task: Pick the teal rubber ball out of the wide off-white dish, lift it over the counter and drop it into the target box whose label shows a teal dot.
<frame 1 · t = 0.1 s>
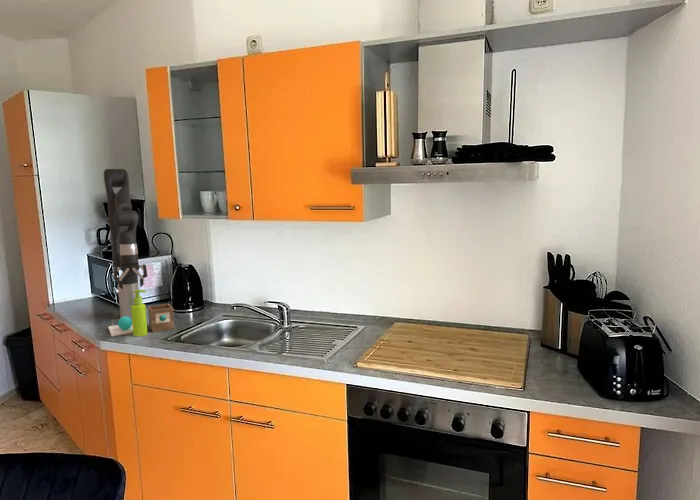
hand: (131, 287, 235), 17 cm above the countertop, tool pointing down, fingers open, 8 cm apart
soap dispenser: (141, 334, 219), on the countertop
target box: (161, 328, 228), on the countertop
ball: (125, 323, 225), point 3 cm above the countertop, touching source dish
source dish: (125, 330, 226), on the countertop
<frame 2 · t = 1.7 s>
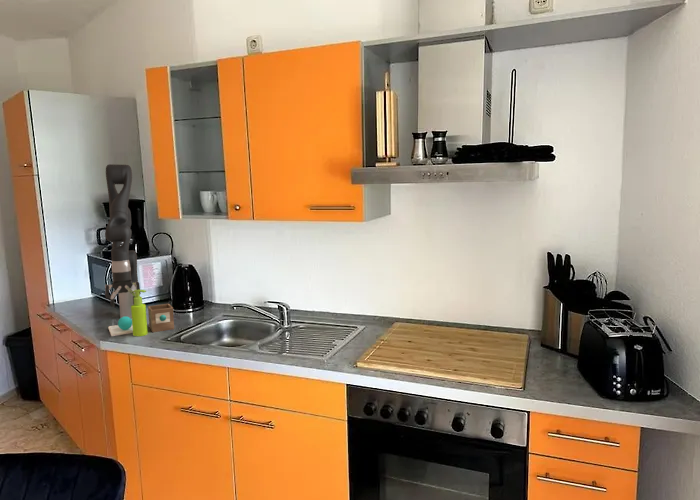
hand: (124, 305, 224), 11 cm above the countertop, tool pointing down, fingers open, 8 cm apart
nothing on the countertop moved.
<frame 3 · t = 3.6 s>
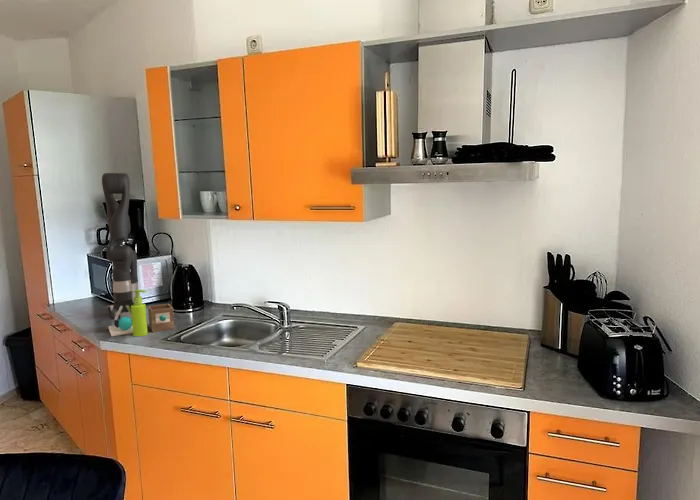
hand: (125, 326, 226), 2 cm above the countertop, tool pointing down, fingers closed on ball, 6 cm apart
ball: (125, 323, 225), point 3 cm above the countertop, touching gripper, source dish
everything else where it was.
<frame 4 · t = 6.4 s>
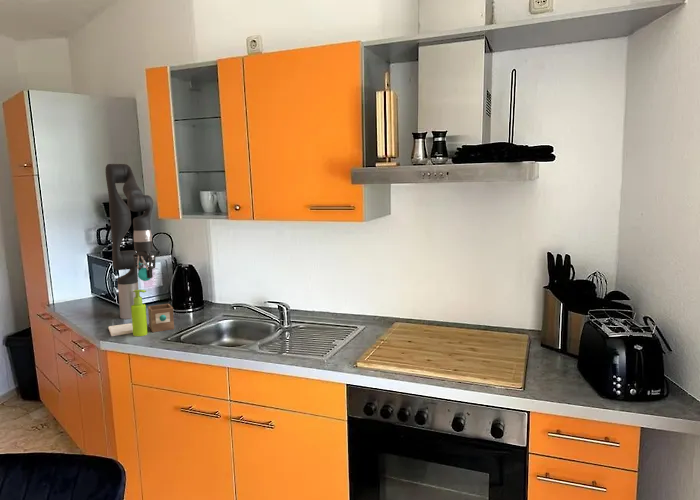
hand: (145, 277, 224), 24 cm above the countertop, tool pointing down, fingers closed on ball, 6 cm apart
ball: (145, 274, 223), point 25 cm above the countertop, touching gripper
everything else where it was.
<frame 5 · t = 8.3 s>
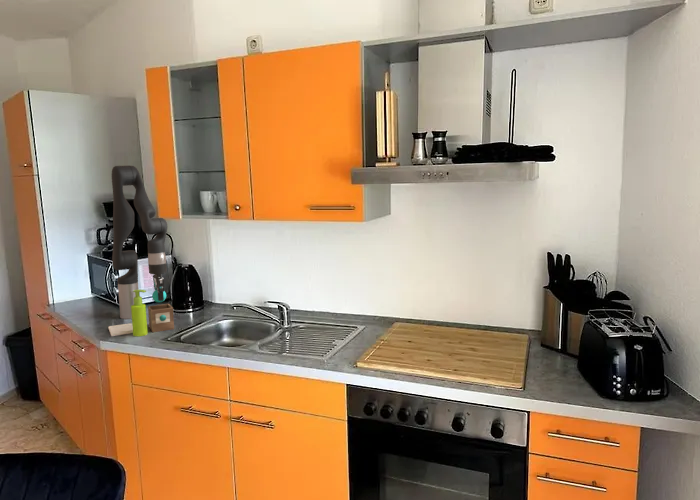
hand: (159, 299, 226), 14 cm above the countertop, tool pointing down, fingers closed on ball, 6 cm apart
ball: (159, 295, 226), point 15 cm above the countertop, touching gripper
everything else where it was.
when the fingers open (13 cm above the countertop, at t = 9.5 s): ball drops 11 cm, point 3 cm above the countertop.
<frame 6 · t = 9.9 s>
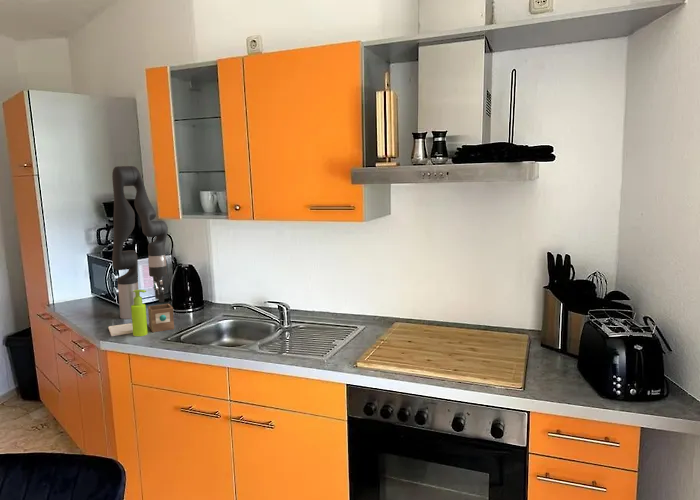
hand: (159, 300, 226), 13 cm above the countertop, tool pointing down, fingers open, 8 cm apart
ball: (161, 322, 228), point 3 cm above the countertop
everything else where it was.
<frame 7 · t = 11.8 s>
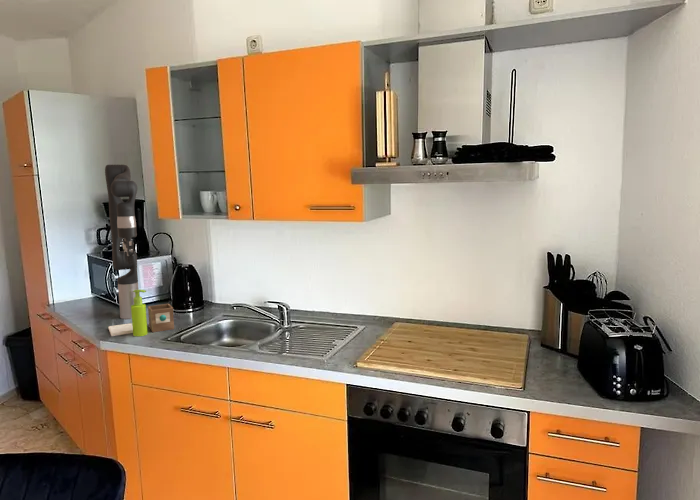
hand: (129, 262, 222), 31 cm above the countertop, tool pointing down, fingers open, 8 cm apart
nothing on the countertop moved.
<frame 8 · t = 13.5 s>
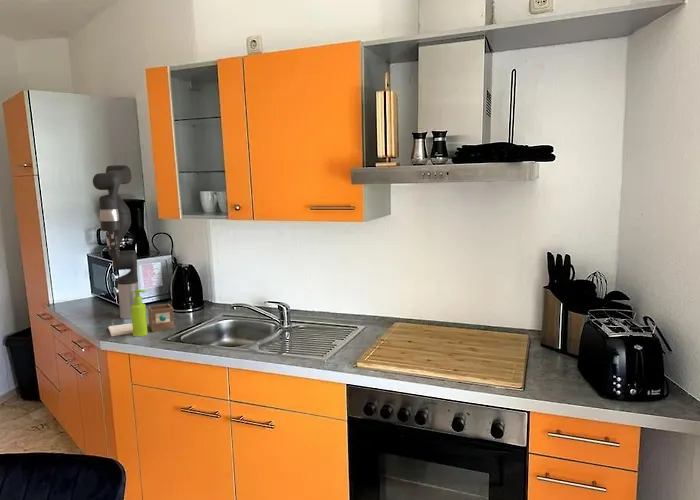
hand: (112, 256, 220), 34 cm above the countertop, tool pointing down, fingers open, 8 cm apart
nothing on the countertop moved.
at the end: ball 0.1 cm off-centre on the target box, point 3.0 cm above the target box's base; the gripper is holding nothing; soap dispenser moved 0.2 cm from its start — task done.
